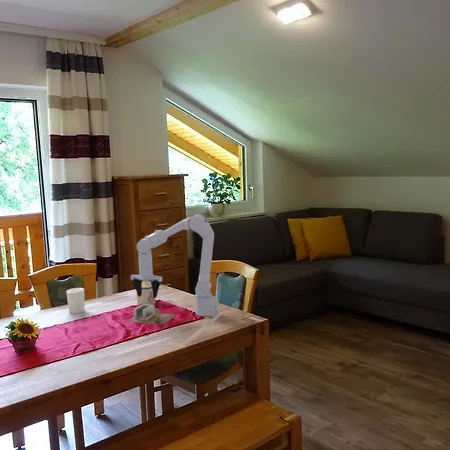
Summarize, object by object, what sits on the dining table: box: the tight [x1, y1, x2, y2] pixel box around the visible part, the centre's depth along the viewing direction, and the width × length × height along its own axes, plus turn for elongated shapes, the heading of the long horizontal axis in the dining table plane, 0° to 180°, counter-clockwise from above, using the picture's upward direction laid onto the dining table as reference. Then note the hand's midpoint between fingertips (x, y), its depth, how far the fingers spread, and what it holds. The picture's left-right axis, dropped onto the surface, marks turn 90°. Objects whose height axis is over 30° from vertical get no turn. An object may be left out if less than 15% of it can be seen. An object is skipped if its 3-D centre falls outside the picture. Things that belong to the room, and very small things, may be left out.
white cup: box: [66, 287, 86, 314], centre depth 226 cm, size 8×8×10 cm
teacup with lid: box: [136, 280, 156, 306], centre depth 237 cm, size 12×9×12 cm
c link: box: [133, 304, 156, 319], centre depth 214 cm, size 8×6×4 cm
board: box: [128, 308, 176, 325], centre depth 211 cm, size 16×13×6 cm
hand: (147, 296), depth 216 cm, fingers open, 7 cm apart
